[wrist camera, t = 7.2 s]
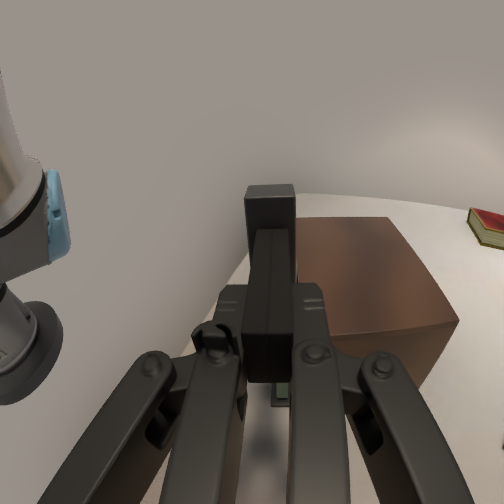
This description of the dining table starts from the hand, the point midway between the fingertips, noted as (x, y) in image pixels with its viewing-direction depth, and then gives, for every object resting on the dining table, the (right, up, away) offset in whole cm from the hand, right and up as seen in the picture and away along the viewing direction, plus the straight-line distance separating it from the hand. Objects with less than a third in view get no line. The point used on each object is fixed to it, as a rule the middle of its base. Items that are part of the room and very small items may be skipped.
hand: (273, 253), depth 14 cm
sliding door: (+1, -11, +12) cm, 16 cm away
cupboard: (+8, -9, +15) cm, 19 cm away
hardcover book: (+58, +3, +28) cm, 64 cm away
